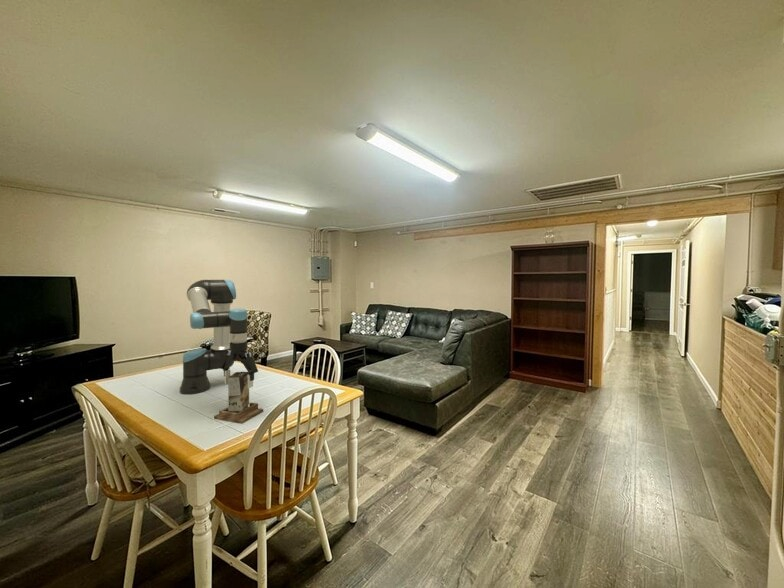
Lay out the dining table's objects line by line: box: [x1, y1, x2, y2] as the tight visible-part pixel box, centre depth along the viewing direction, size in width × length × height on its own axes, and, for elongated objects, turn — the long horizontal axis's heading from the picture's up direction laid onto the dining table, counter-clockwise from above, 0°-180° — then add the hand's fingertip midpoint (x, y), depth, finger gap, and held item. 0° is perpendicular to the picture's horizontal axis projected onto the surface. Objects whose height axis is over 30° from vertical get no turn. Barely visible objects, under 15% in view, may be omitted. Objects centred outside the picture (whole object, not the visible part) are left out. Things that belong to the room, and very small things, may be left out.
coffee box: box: [227, 371, 250, 411], centre depth 149 cm, size 9×6×16 cm
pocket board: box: [213, 402, 264, 425], centre depth 150 cm, size 16×14×4 cm
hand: (238, 385), depth 150 cm, fingers open, 13 cm apart
